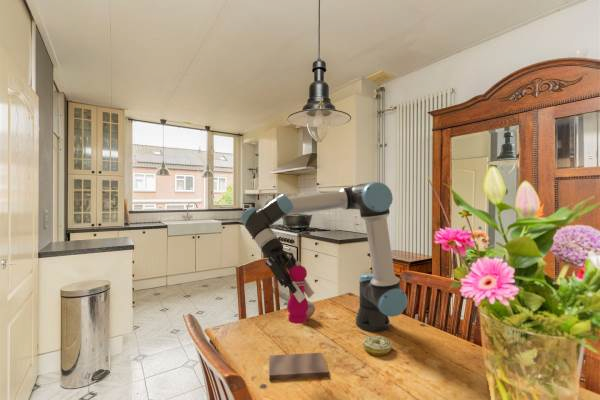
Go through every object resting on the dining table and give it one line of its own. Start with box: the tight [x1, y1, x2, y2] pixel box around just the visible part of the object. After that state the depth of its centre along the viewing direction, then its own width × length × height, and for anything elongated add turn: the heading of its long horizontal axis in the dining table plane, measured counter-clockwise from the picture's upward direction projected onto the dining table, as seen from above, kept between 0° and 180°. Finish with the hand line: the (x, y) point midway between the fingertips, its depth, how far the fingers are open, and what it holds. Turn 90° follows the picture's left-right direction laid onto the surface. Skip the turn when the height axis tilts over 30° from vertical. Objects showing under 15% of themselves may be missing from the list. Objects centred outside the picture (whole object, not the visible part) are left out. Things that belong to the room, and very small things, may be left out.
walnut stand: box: [268, 352, 330, 381], centre depth 99 cm, size 19×12×2 cm, turn 96°
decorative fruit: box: [306, 300, 316, 320], centre depth 140 cm, size 9×8×10 cm
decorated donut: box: [362, 335, 393, 357], centre depth 112 cm, size 10×11×4 cm
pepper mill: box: [286, 260, 308, 325], centre depth 100 cm, size 7×7×20 cm
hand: (307, 297), depth 97 cm, fingers closed on pepper mill, 5 cm apart
